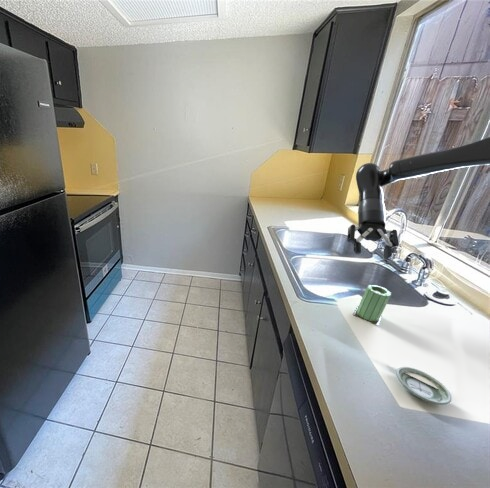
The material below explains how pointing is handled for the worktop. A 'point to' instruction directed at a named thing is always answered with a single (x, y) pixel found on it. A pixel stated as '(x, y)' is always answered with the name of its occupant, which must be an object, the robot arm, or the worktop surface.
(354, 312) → the stand
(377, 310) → the hollow cylinder
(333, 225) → the worktop surface
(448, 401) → the saucer
